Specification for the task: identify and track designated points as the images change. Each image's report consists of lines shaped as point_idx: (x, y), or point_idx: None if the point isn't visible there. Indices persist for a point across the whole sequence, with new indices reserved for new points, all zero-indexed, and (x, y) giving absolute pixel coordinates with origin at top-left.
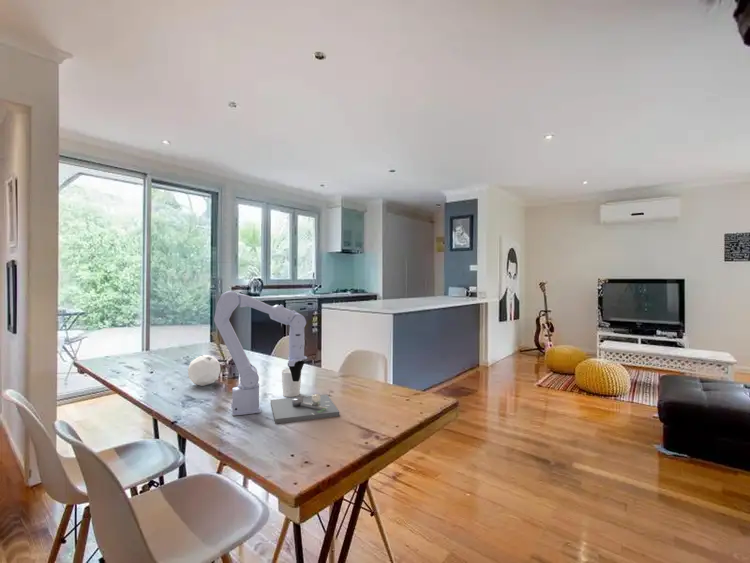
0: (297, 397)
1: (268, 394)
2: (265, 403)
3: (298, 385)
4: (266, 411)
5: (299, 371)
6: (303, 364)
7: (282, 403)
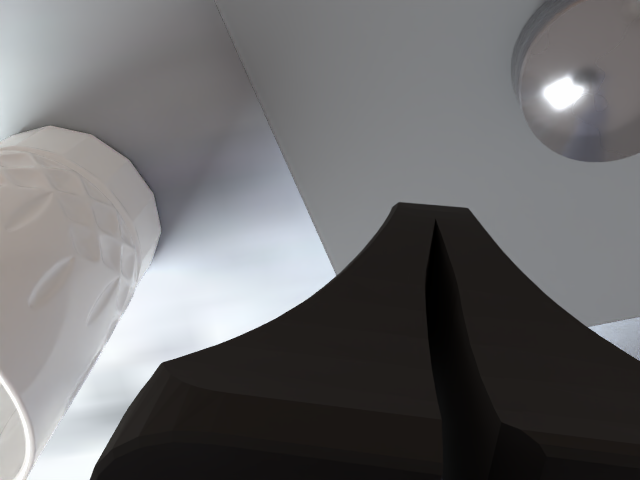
0: (541, 99)
1: (130, 392)
2: None
3: (26, 181)
4: None
5: (587, 329)
6: (304, 370)
7: None
